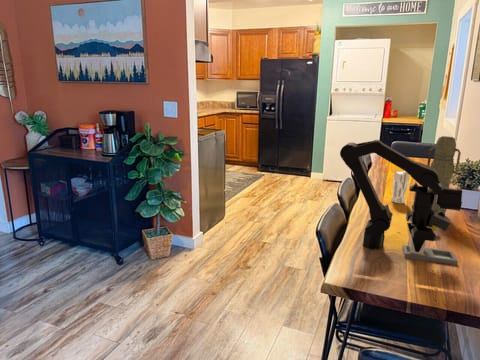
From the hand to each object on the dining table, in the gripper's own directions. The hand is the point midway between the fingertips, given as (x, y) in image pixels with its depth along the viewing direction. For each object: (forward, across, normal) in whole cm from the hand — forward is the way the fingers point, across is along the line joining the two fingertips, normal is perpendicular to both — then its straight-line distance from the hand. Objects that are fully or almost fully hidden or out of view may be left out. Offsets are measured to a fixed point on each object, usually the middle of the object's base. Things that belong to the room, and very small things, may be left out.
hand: (416, 248), depth 120 cm
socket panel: (+3, 0, -4) cm, 5 cm away
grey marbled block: (+3, +61, -1) cm, 61 cm away
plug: (+2, 0, 0) cm, 2 cm away
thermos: (+3, +48, -15) cm, 50 cm away
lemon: (+3, +23, -8) cm, 25 cm away
